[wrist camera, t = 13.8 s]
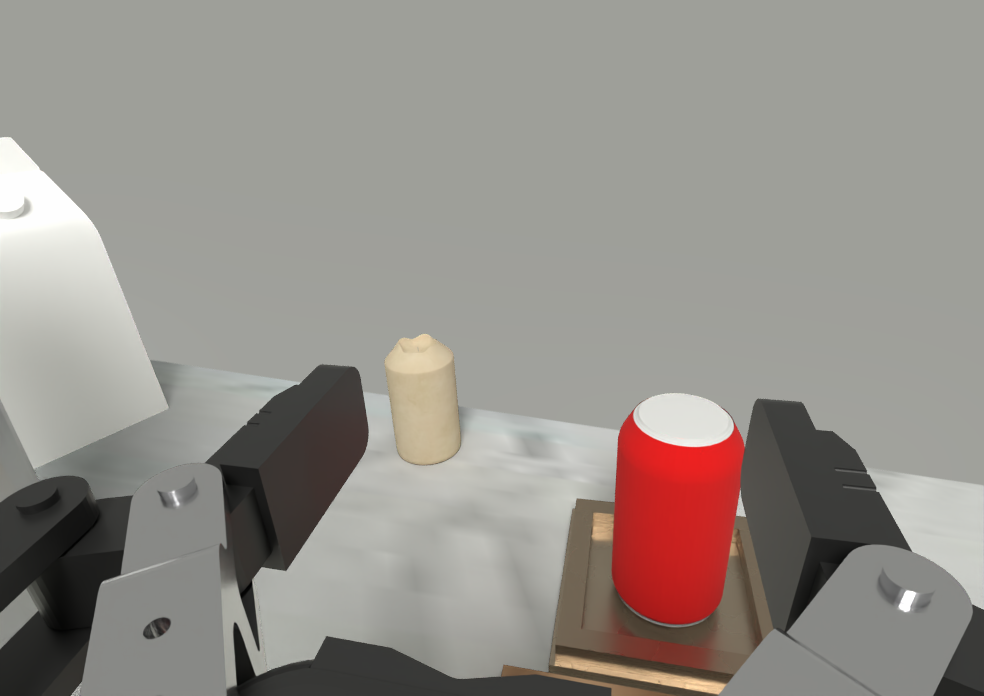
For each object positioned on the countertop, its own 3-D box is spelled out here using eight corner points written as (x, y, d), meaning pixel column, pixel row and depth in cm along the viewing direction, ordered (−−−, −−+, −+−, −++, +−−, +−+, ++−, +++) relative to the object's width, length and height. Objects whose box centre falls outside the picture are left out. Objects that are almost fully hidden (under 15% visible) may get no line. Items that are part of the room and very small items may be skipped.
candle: (385, 459, 48) (368, 352, 44) (415, 425, 53) (402, 324, 49) (445, 471, 47) (433, 360, 42) (470, 434, 51) (462, 330, 47)
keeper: (548, 677, 30) (548, 648, 29) (572, 519, 41) (572, 495, 40) (799, 722, 28) (808, 692, 27) (755, 541, 38) (760, 515, 37)
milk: (117, 380, 64) (26, 132, 53) (169, 408, 58) (77, 134, 47) (-14, 431, 56) (-155, 148, 45) (30, 470, 50) (-123, 153, 38)
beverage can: (605, 625, 32) (613, 442, 27) (616, 544, 37) (624, 379, 32) (724, 649, 30) (757, 459, 25) (717, 561, 35) (744, 390, 30)
